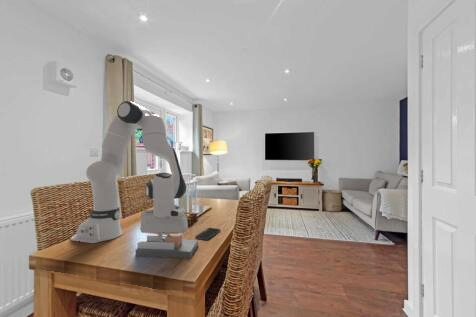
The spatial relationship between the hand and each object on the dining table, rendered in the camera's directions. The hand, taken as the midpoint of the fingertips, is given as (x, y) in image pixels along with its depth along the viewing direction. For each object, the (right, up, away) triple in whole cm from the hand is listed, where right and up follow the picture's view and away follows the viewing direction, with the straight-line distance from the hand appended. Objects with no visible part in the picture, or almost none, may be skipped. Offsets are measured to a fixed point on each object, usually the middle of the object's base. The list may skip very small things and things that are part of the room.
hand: (164, 241), depth 92 cm
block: (+4, -1, 0) cm, 5 cm away
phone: (+17, -4, +19) cm, 26 cm away
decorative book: (-1, -4, +39) cm, 40 cm away
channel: (+2, -4, 0) cm, 4 cm away
